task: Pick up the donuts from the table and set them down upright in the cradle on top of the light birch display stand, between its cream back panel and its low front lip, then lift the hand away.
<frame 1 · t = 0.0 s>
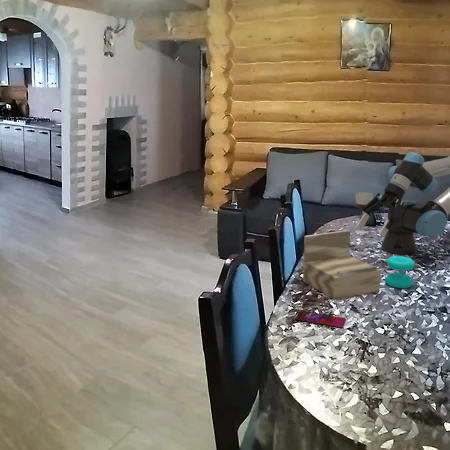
hand: (369, 231, 212), 15 cm above the table, tool tilted 35°, fingers open, 13 cm apart
smartphone: (320, 321, 167), on the table
donuts: (398, 284, 197), on the table
display stand: (340, 285, 196), on the table
wineglass: (361, 232, 270), on the table
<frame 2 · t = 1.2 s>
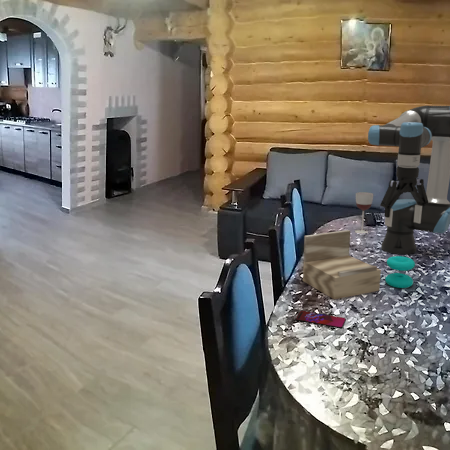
hand: (402, 224, 192), 23 cm above the table, tool pointing down, fingers open, 13 cm apart
nothing on the table moved.
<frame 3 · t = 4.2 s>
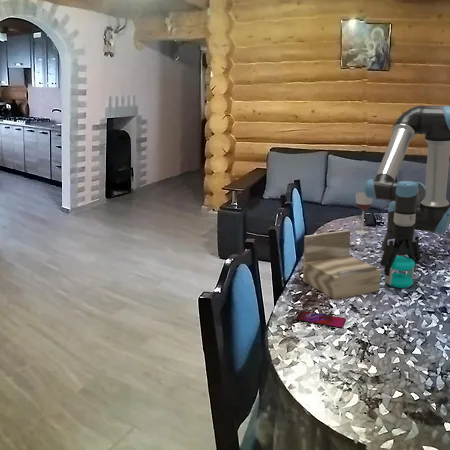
hand: (399, 281, 197), 1 cm above the table, tool pointing down, fingers closed on donuts, 10 cm apart
donuts: (398, 284, 197), on the table, touching gripper
everything else where it was.
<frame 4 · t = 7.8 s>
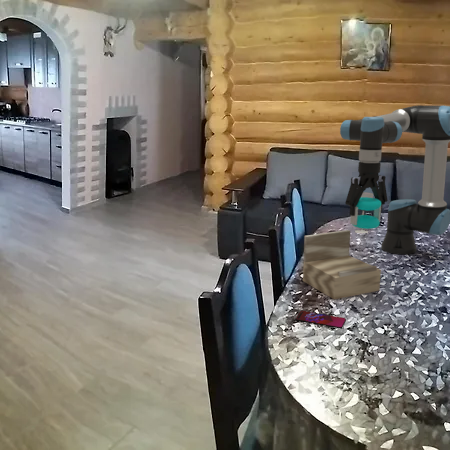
hand: (365, 222, 190), 24 cm above the table, tool pointing down, fingers closed on donuts, 10 cm apart
donuts: (365, 226, 190), point 23 cm above the table, touching gripper
everything else where it was.
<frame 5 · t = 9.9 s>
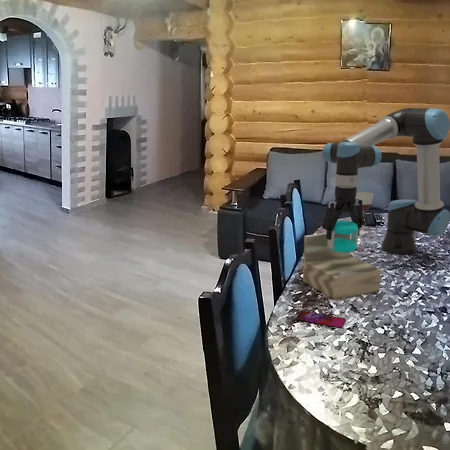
hand: (342, 246, 192), 16 cm above the table, tool pointing down, fingers closed on donuts, 10 cm apart
donuts: (342, 249, 192), point 14 cm above the table, touching gripper
everything else where it was.
when the fingers open (11 cm above the table, at t = 11.8 s): donuts drops 1 cm, resting on display stand.
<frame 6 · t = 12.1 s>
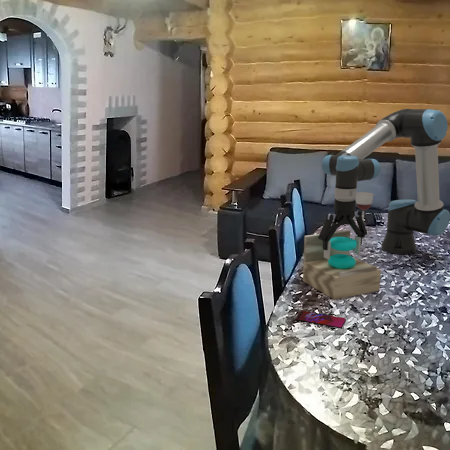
hand: (341, 255, 193), 12 cm above the table, tool pointing down, fingers open, 13 cm apart
donuts: (341, 265, 194), point 8 cm above the table, touching display stand
everything else where it was.
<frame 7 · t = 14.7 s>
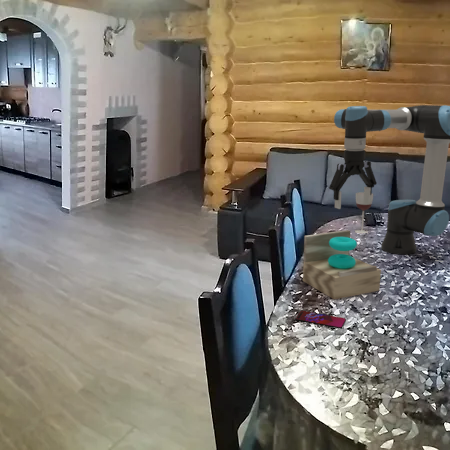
hand: (352, 206, 197), 29 cm above the table, tool pointing down, fingers open, 13 cm apart
nothing on the table moved.
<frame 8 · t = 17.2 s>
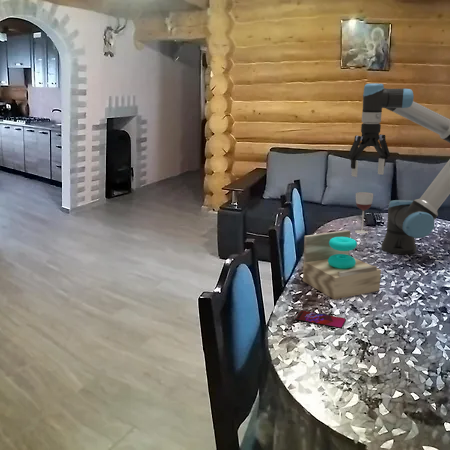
hand: (367, 175, 216), 37 cm above the table, tool pointing down, fingers open, 13 cm apart
nothing on the table moved.
at the end: display stand inside the target area under the donuts (0.1 cm from its centre), point -7.8 cm above the donuts's base; donuts tilted 0°; the gripper is holding nothing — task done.
